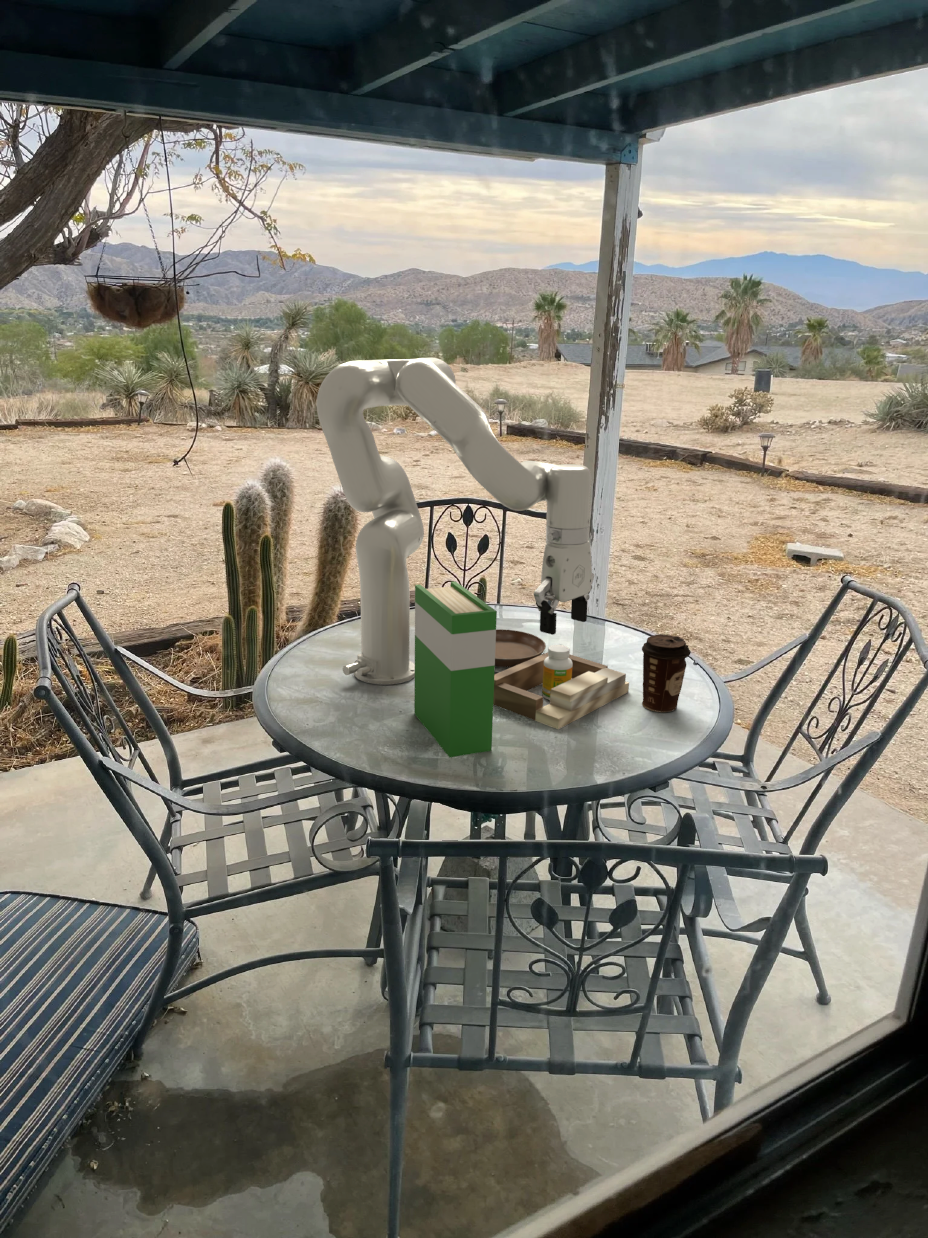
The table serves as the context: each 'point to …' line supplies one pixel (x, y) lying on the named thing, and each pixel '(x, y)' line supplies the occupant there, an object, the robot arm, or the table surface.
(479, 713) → the hardback book
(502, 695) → the frame
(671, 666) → the coffee cup
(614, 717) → the table surface
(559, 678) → the supplement bottle
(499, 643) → the plant saucer
